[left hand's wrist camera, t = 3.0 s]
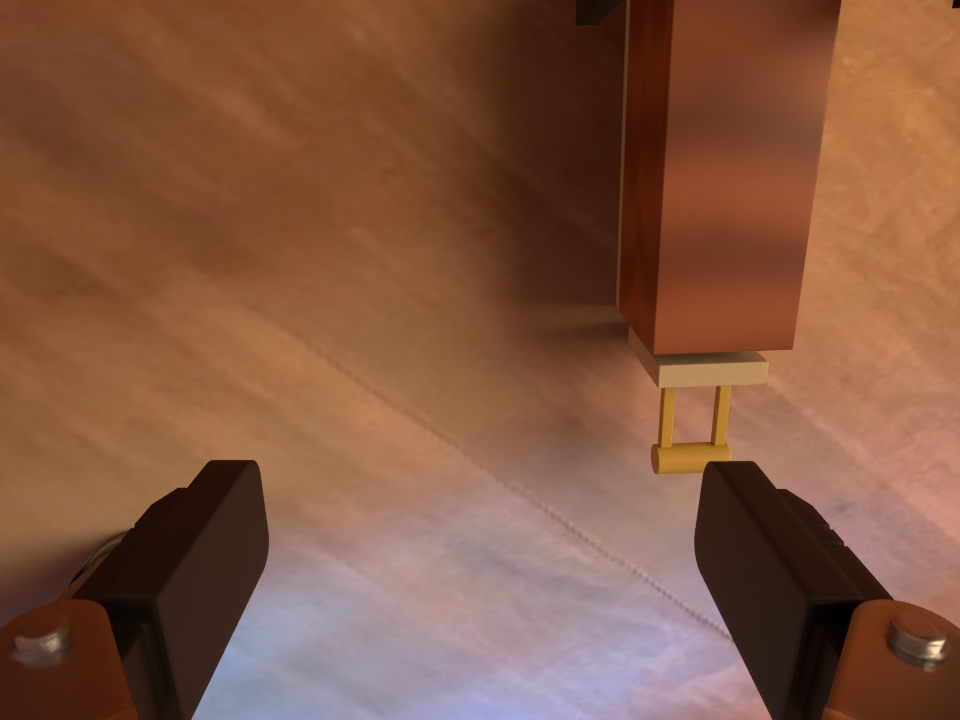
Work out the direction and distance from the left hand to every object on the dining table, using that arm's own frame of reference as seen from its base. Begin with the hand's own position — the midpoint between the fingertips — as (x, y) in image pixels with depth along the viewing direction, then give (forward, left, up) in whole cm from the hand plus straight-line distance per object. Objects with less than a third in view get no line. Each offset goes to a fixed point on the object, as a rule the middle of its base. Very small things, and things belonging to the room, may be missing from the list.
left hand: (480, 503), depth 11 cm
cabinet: (+4, -12, -26) cm, 29 cm away
